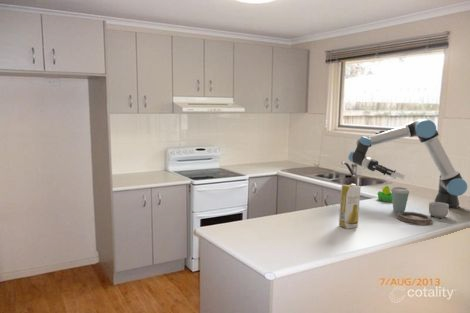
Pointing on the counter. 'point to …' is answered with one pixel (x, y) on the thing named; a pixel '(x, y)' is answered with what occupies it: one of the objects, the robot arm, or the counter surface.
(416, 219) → the ring board
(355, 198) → the juice carton
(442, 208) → the teacup
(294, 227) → the counter surface
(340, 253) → the counter surface
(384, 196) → the fruit basket
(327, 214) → the counter surface
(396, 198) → the disposable coffee cup
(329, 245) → the counter surface
